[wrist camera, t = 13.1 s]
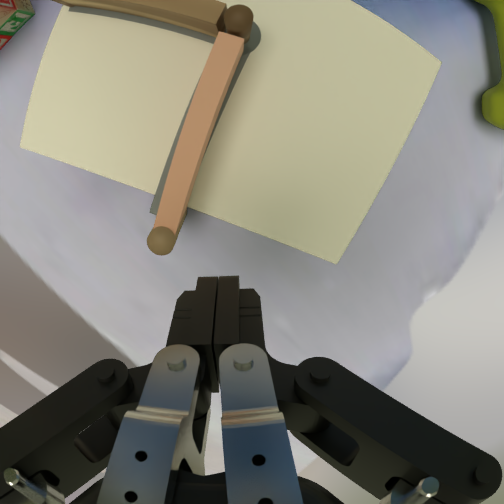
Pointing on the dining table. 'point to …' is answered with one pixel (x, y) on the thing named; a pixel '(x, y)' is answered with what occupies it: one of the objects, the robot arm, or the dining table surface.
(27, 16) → the stack of blocks
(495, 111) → the dumbbell
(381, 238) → the dining table surface
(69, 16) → the card
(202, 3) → the wooden fence panel
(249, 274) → the dining table surface
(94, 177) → the dining table surface
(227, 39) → the gate
